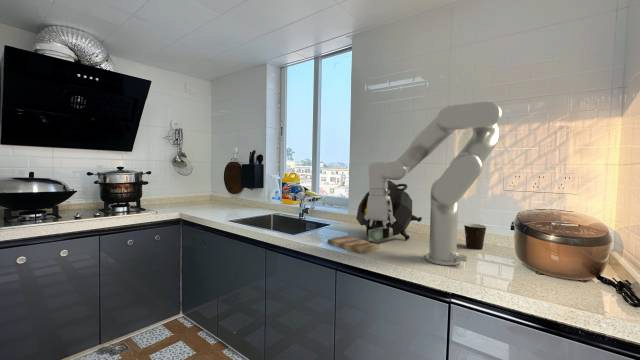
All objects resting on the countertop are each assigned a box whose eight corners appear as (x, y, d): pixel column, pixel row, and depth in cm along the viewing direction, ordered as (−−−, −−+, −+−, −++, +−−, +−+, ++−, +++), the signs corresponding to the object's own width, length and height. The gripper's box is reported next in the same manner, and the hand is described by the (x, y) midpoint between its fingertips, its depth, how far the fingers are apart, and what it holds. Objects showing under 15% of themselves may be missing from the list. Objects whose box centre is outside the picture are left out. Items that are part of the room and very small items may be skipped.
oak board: (378, 248, 124) (378, 243, 124) (360, 253, 116) (360, 248, 116) (345, 239, 139) (345, 235, 139) (327, 243, 131) (327, 239, 131)
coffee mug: (467, 244, 133) (468, 222, 132) (488, 247, 127) (488, 225, 126) (458, 248, 125) (458, 226, 124) (479, 253, 118) (480, 229, 118)
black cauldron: (432, 235, 128) (398, 204, 120) (383, 258, 143) (350, 232, 135) (423, 195, 150) (394, 166, 142) (381, 218, 165) (353, 194, 156)
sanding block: (393, 240, 117) (392, 228, 117) (378, 244, 112) (377, 231, 112) (384, 238, 121) (383, 226, 121) (369, 242, 116) (368, 230, 116)
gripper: (401, 192, 112) (403, 238, 112) (367, 191, 125) (369, 232, 125) (390, 194, 107) (392, 241, 108) (356, 192, 120) (358, 235, 120)
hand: (380, 236), depth 116 cm, fingers closed on sanding block, 5 cm apart
